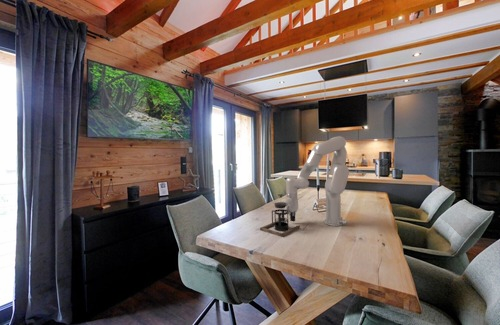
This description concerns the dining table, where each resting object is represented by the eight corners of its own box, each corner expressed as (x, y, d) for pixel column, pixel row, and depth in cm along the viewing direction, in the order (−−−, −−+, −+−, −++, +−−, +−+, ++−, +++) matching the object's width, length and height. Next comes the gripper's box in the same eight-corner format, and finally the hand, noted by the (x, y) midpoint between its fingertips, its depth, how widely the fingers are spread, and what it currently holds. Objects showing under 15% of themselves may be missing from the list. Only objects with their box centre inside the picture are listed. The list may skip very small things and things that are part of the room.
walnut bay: (299, 228, 143) (299, 225, 143) (282, 236, 129) (282, 234, 129) (277, 222, 155) (277, 220, 155) (260, 230, 142) (259, 227, 141)
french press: (291, 227, 145) (290, 193, 144) (288, 232, 136) (287, 196, 135) (274, 225, 150) (273, 192, 149) (270, 230, 141) (269, 195, 140)
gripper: (292, 193, 160) (293, 217, 161) (281, 196, 149) (282, 222, 150) (302, 194, 155) (302, 219, 156) (290, 197, 144) (291, 224, 145)
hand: (292, 220), depth 153 cm, fingers closed
